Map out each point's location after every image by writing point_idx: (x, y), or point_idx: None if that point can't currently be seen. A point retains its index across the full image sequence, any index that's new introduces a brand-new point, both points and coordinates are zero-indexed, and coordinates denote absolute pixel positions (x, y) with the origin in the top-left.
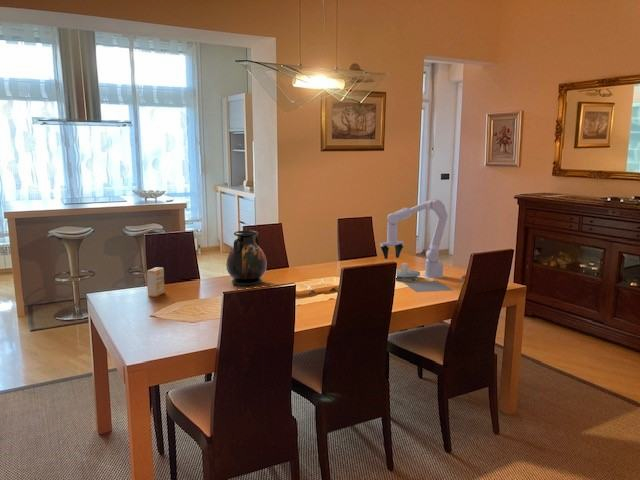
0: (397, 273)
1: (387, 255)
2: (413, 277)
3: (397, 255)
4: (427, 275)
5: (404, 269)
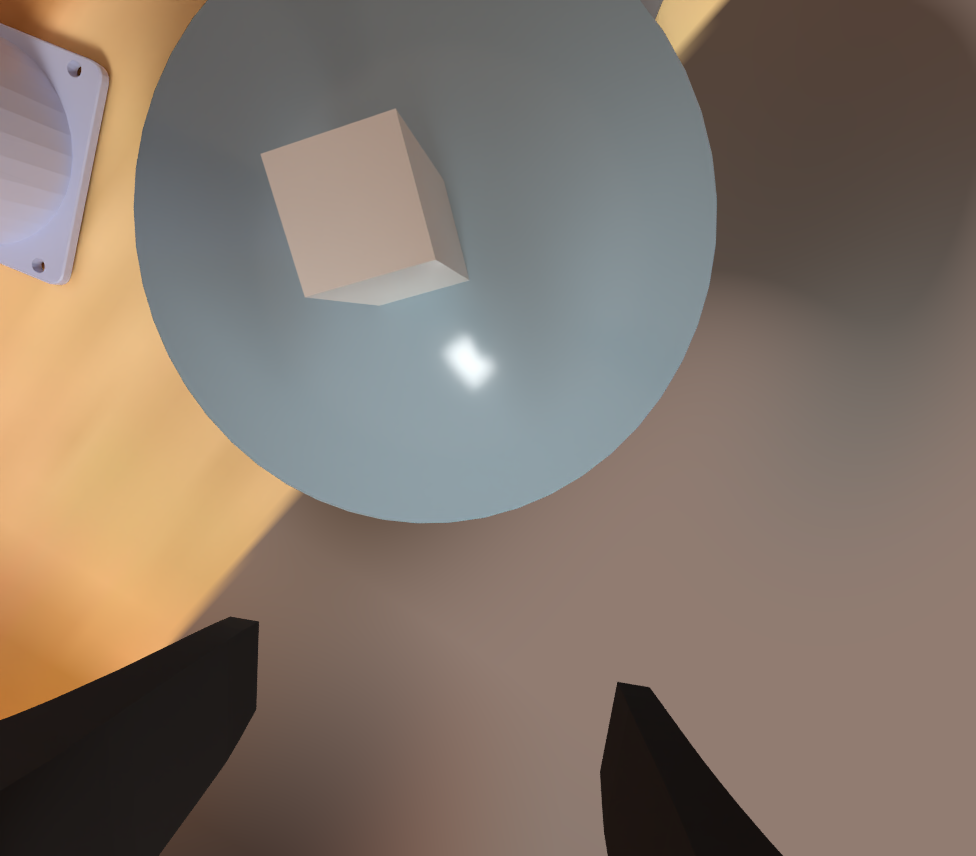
0: (593, 241)
1: (660, 757)
2: None
3: (214, 685)
4: (49, 115)
5: (434, 184)
